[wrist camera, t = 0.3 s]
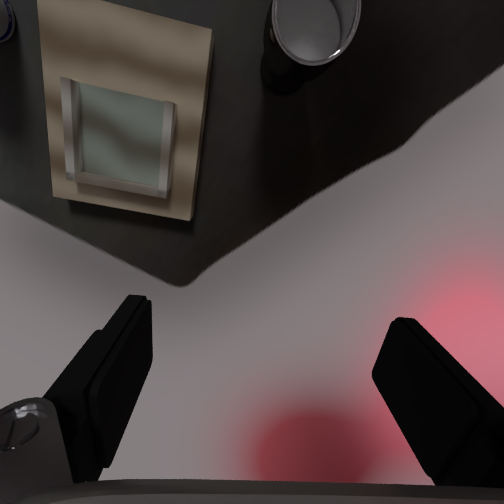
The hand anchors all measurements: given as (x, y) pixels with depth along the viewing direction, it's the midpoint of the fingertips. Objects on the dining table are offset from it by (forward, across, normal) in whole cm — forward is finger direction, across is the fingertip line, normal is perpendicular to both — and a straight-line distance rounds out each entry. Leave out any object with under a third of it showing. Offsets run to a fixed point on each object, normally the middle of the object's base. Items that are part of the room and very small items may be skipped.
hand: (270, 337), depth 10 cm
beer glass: (+31, -3, -16) cm, 35 cm away
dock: (+31, +16, -8) cm, 36 cm away
